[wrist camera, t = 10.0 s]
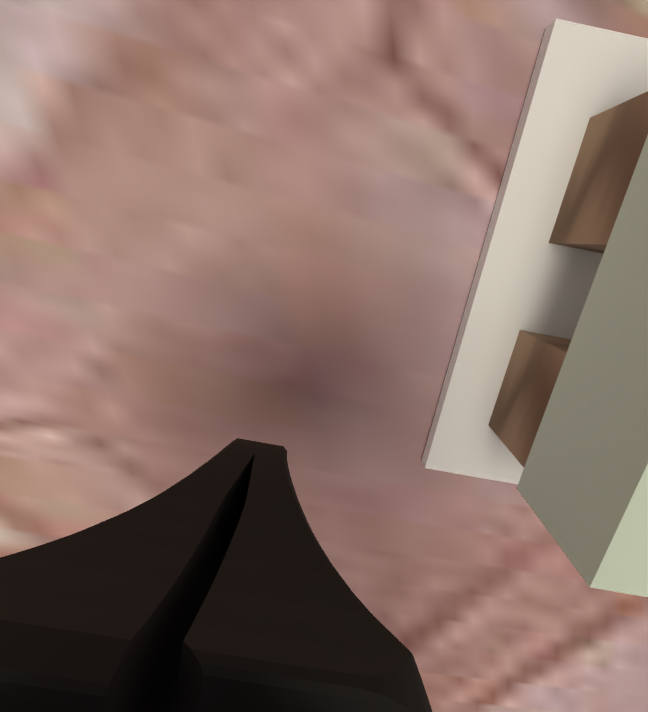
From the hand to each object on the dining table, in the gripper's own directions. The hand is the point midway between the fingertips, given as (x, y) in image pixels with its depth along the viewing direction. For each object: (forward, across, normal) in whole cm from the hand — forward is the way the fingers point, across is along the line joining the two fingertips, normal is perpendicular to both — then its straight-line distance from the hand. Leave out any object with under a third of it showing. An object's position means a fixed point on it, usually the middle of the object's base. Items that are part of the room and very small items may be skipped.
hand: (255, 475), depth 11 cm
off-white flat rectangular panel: (+10, -13, -6) cm, 17 cm away
